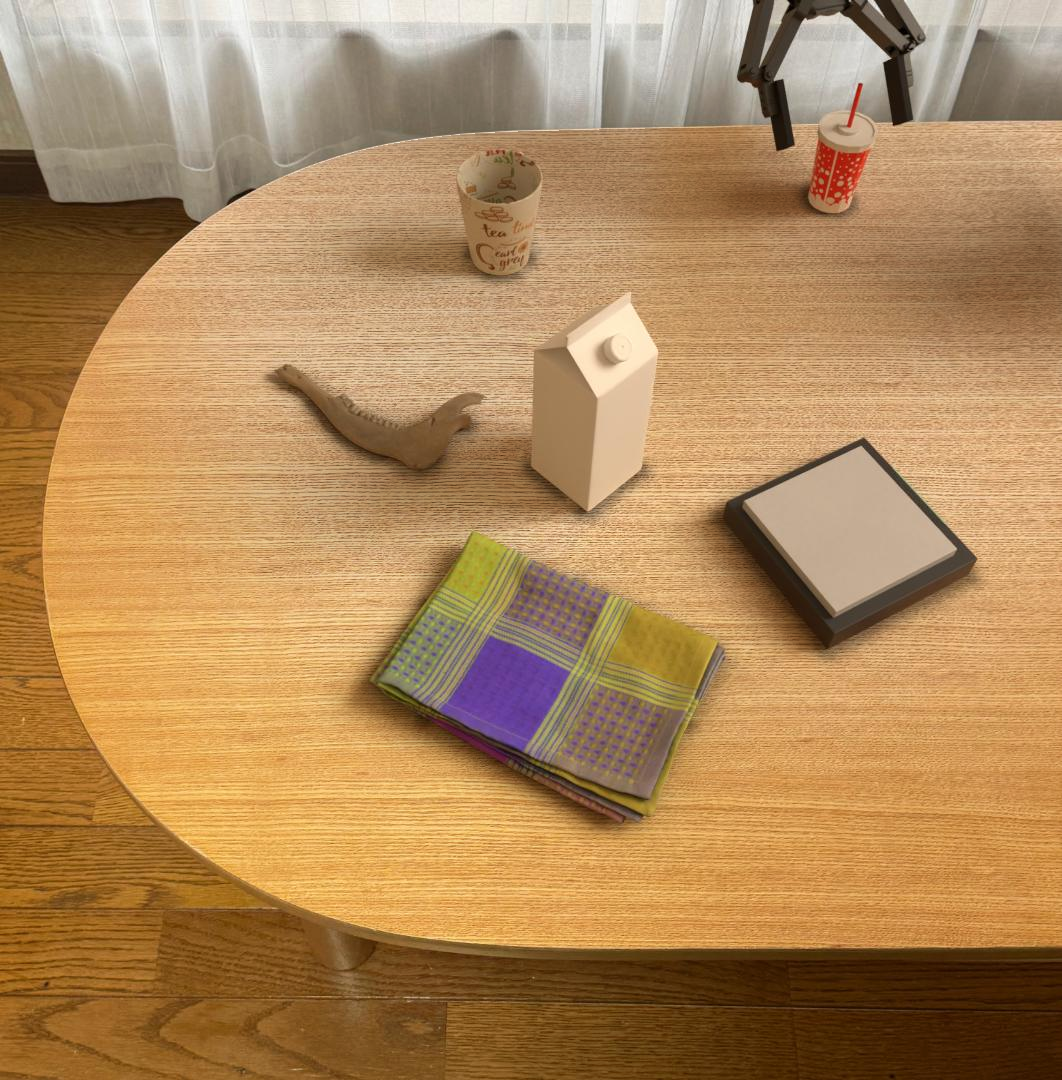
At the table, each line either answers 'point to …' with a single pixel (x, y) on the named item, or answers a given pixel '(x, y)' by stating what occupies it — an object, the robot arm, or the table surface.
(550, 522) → the table surface
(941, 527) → the kitchen scale
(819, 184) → the beverage cup
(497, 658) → the dish towel
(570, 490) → the milk carton
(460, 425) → the jawbone
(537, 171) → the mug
